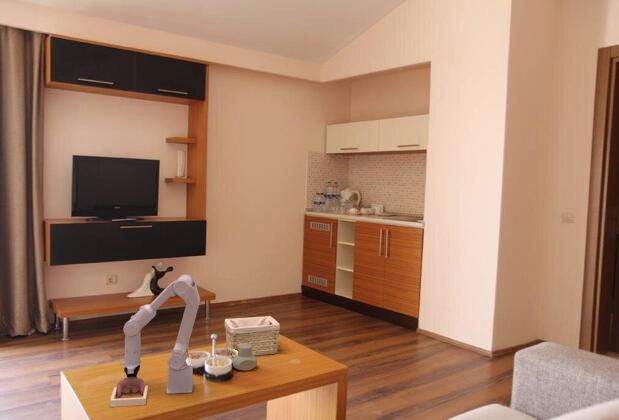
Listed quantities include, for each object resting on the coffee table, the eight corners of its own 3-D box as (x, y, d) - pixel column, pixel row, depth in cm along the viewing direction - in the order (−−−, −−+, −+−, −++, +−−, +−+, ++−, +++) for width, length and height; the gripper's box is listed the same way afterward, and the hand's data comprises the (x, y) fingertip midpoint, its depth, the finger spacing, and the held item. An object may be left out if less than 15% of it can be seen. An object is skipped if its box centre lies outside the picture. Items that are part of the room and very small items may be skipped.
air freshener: (234, 373, 221) (235, 350, 221) (229, 366, 229) (230, 344, 228) (259, 370, 226) (260, 347, 225) (253, 363, 233) (254, 341, 233)
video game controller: (144, 395, 199) (144, 376, 202) (144, 394, 195) (144, 374, 198) (116, 398, 196) (116, 378, 198) (116, 397, 192) (116, 377, 194)
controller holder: (147, 391, 200) (147, 385, 199) (145, 404, 188) (145, 398, 188) (114, 393, 197) (114, 386, 197) (110, 407, 185) (110, 400, 185)
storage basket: (229, 359, 238) (230, 327, 237) (222, 348, 253) (223, 318, 252) (280, 355, 246) (281, 324, 245) (270, 344, 261) (271, 315, 260)
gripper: (123, 344, 206) (123, 378, 207) (119, 357, 192) (118, 393, 193) (142, 344, 208) (141, 377, 209) (139, 356, 194) (138, 392, 195)
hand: (131, 385), depth 201 cm, fingers closed
